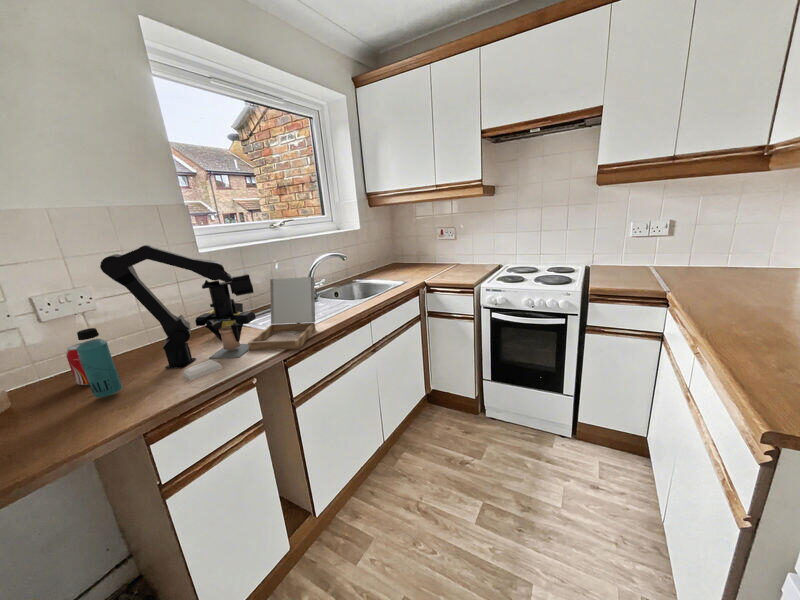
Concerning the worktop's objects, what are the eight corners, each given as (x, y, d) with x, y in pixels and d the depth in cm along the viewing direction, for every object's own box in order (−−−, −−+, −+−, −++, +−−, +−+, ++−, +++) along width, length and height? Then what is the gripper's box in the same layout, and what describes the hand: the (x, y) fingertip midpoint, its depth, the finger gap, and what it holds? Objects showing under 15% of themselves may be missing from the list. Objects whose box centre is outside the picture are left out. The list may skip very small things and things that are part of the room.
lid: (313, 276, 134) (314, 277, 135) (270, 279, 136) (271, 279, 136) (314, 322, 133) (315, 322, 133) (271, 324, 135) (271, 324, 135)
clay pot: (235, 350, 115) (231, 330, 113) (219, 350, 116) (214, 331, 114) (244, 343, 121) (240, 324, 119) (229, 343, 121) (224, 325, 120)
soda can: (84, 378, 106) (71, 343, 103) (111, 373, 109) (99, 339, 105) (72, 389, 100) (58, 352, 97) (101, 383, 102) (88, 347, 99)
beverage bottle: (121, 387, 99) (99, 323, 93) (127, 394, 95) (104, 327, 89) (92, 398, 94) (67, 331, 88) (97, 405, 90) (71, 336, 84)
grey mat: (239, 357, 113) (239, 356, 113) (209, 358, 114) (208, 357, 114) (255, 344, 124) (255, 343, 123) (227, 345, 125) (227, 344, 125)
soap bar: (184, 377, 103) (182, 369, 102) (214, 365, 110) (212, 358, 109) (191, 381, 100) (188, 373, 99) (221, 369, 107) (219, 361, 106)
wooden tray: (298, 348, 116) (297, 340, 116) (249, 350, 118) (247, 342, 117) (315, 329, 134) (314, 322, 133) (272, 331, 135) (271, 324, 135)
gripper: (259, 291, 120) (267, 332, 125) (210, 293, 122) (219, 333, 127) (242, 300, 110) (251, 344, 114) (189, 302, 112) (200, 346, 116)
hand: (230, 341), depth 118 cm, fingers closed on clay pot, 5 cm apart
